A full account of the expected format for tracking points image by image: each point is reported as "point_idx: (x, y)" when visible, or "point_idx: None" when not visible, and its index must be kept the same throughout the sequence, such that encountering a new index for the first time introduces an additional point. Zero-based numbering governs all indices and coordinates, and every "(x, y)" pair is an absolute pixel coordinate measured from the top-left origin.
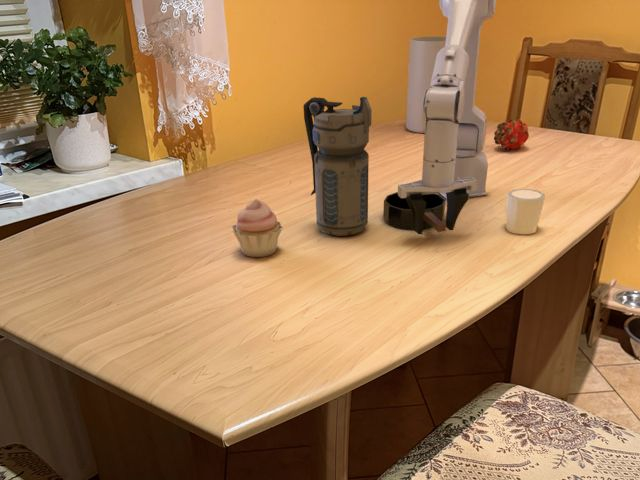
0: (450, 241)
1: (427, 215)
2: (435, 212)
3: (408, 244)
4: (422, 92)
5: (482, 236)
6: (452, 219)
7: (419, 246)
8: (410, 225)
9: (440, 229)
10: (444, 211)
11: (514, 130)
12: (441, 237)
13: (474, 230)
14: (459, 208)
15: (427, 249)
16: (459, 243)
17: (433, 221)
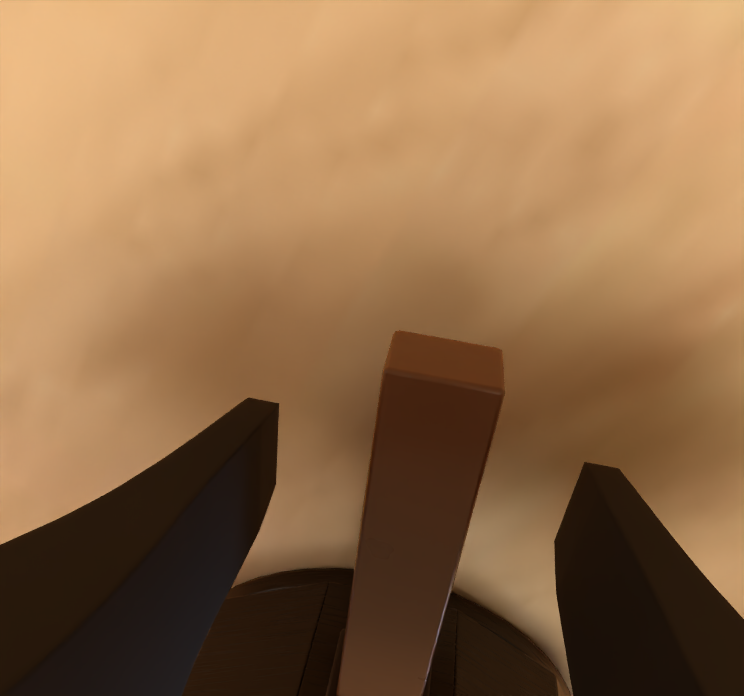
0: (319, 309)
1: (419, 662)
2: (272, 681)
3: (716, 422)
4: None
5: (10, 277)
6: (223, 469)
7: (658, 341)
8: (497, 645)
9: (467, 359)
10: None
11: None
12: (350, 412)
13: (41, 403)
14: (66, 545)
15: (641, 244)
16: (262, 233)
17: (458, 532)
